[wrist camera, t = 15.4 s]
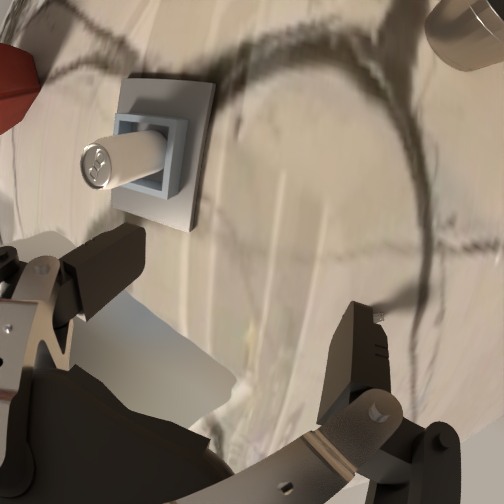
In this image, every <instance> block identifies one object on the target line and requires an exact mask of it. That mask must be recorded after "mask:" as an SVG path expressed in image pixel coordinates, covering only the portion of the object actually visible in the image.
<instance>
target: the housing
mask: <svg viewBox="0 0 504 504" xmlns="http://www.w3.org/2000/svg"><path fill="white" fill-rule="evenodd" d="M215 89H216V84H214V83H207V82H197V81H185V80H170V79H138V78H129V79H122V82H121V88H120V95H119V102H118V109H117V113H115V122H114V132H113V136H114V135H120V134H126V133H133V132H140V131H149V130H154V131H157V132H159V133H161V134H162V135H163V136H164V137H165V138H166V140H167V149H166V157H165V165H164V168H163V169H162V170H160V171H158V172H156V173H153V174H150V175H147V176H145V177H142V178H139V179H136V180H134V181H131V182H128V183H126V184H123V185H120V186H118V187H115V188H112V191H111V206H112V207H115V208H117V209H120V210H123V211H126V212H129V213H132V214H135V215H138V216H141V217H144V218H147V219H150V220H153V221H156V222H158V223H161V224H164V225H167V226H170V227H173V228H176V229H179V230H182V231H185V232H188V233H189V232H191V231H192V230H193V222H194V214H195V207H196V199H197V192H198V185H199V179H200V172H201V166H202V159H203V153H204V147H205V142H206V136H207V130H208V125H209V119H210V114H211V109H212V104H213V99H214V94H215Z"/></svg>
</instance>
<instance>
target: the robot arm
mask: <svg viewBox="0 0 504 504" xmlns="http://www.w3.org/2000/svg"><path fill="white" fill-rule="evenodd" d="M425 33H426V37H427V40H428V42H429V44H430V46H431V47H432V49H433V50H434V52H435V53H436V54H437V55H438V56H439V57H440V58H441V59H442V60H443V61H444V62H445V63H446V64H448V65H450V66H451V67H453V68H455V69H458V70H461V71H474V70H477V69H480V68H483V67H487V66H490V65H493V64H496V63H499V62H503V61H504V0H441V1H440V2H439V3H438V4H437V6H436V7H435V8H434V9H433V10H432V12H431V13H430V14H429V15H428V17H427V19H426V22H425ZM145 246H146V232H145V229H144V228H143V227H140V226H137V225H134V224H132V223H129V222H126V223H124V224H122V225H120V226H119V227H117V228H115V229H113V230H111V231H108V232H104V233H101V234H99V235H98V236H96V237H94V238H93V239H92V240H89V241H87V242H86V243H85V244H82V245H81V246H79V247H77V248H76V249H74V250H72V251H71V252H69V253H68V254H66V255H64V256H63V257H61V258H60V259H57V258H56V257H53V256H40V257H37V258H35V259H33V260H31V261H30V262H29V263H26V262H22V261H19V259H18V254H17V250H16V248H14V247H12V246H4V247H0V504H324V503H325V502H326V501H328V500H329V499H330V498H331V497H333V496H334V495H335V494H336V493H337V492H339V491H340V490H341V489H342V488H343V487H344V486H346V485H347V484H348V483H349V482H350V481H351V480H352V479H353V478H354V476H355V474H354V473H355V472H356V473H358V474H360V475H362V476H364V477H366V478H368V479H370V482H369V487H368V492H367V496H366V501H365V504H460V498H461V453H460V440H459V437H458V434H457V433H456V431H455V430H454V428H453V427H451V426H450V425H449V424H447V423H445V422H440V421H438V422H434V423H432V424H430V425H429V426H428V427H427V428H426V429H425V428H423V427H421V426H419V425H417V424H415V423H413V422H411V421H409V420H408V419H406V418H404V417H403V410H402V407H401V405H400V403H399V401H398V400H397V399H396V398H395V397H394V396H393V395H392V394H391V381H390V365H389V360H388V358H389V352H388V341H387V336H386V334H385V332H384V330H383V328H382V326H381V325H379V324H376V323H374V322H373V309H372V307H370V306H367V305H364V304H361V303H358V302H355V301H351V302H350V304H349V306H348V308H347V310H346V312H345V314H344V316H343V318H342V319H341V321H340V323H339V325H338V327H337V329H336V331H335V333H334V335H333V338H332V340H331V343H330V347H329V353H328V360H327V367H326V373H325V379H324V385H323V391H322V396H321V402H320V407H319V412H318V417H317V422H316V424H318V425H322V426H321V427H320V428H318V429H317V430H315V431H309V432H307V433H305V434H304V435H302V436H301V437H299V438H297V439H296V440H294V441H293V442H291V443H290V444H288V445H287V446H285V447H283V448H282V449H280V450H278V451H277V452H275V453H273V454H272V455H270V456H268V457H267V458H265V459H263V460H261V461H260V462H258V463H256V464H254V465H252V466H250V467H249V468H247V469H245V470H243V471H241V472H239V473H237V474H234V472H233V471H232V470H231V468H230V467H229V466H228V465H227V464H226V463H225V462H224V460H222V459H221V458H220V457H219V456H218V455H217V454H215V453H214V452H213V451H211V450H210V449H209V444H210V440H211V439H209V438H206V437H204V436H202V435H199V434H197V433H195V432H192V431H190V430H188V429H186V428H184V427H181V426H179V425H177V424H175V423H173V422H170V421H166V420H162V419H158V418H155V417H151V416H147V415H144V414H140V413H137V412H134V411H131V410H129V409H128V408H126V407H125V406H124V405H123V404H122V403H121V402H120V401H119V400H118V399H117V398H116V397H115V396H114V395H113V393H112V392H111V391H110V390H109V389H108V388H107V387H106V386H105V385H104V384H103V383H102V382H101V381H99V380H98V379H96V378H95V377H93V376H92V375H90V374H89V373H87V372H86V371H84V370H83V369H82V368H80V367H79V366H78V365H76V364H75V365H74V366H73V367H72V368H71V369H70V370H69V354H70V346H71V338H72V330H73V320H72V318H73V317H75V316H78V317H79V318H81V319H82V320H84V321H85V322H87V321H88V320H89V319H90V318H92V317H93V316H94V315H95V314H96V313H97V312H98V311H99V310H101V309H102V308H103V307H104V306H105V305H106V304H107V303H109V302H110V301H111V300H112V299H113V298H114V297H115V296H117V295H118V294H119V293H120V292H121V291H122V290H124V289H125V288H126V287H127V286H128V285H129V284H131V283H132V282H133V281H134V280H135V279H137V278H138V277H139V276H140V275H141V273H142V272H143V269H144V266H145Z"/></svg>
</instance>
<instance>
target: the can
mask: <svg viewBox="0 0 504 504" xmlns="http://www.w3.org/2000/svg"><path fill="white" fill-rule="evenodd" d="M166 149H167V140H166V138H165V137H164V136H163V135H162V134H161V133H159V132H157V131H154V130H149V131H140V132H133V133H126V134H120V135H114V136H109V137H104V138H100V139H98V140H96V141H95V142H94V143H91V144H89V145H88V146H87V147H86V148H85V149H84V151H83V153H82V155H81V160H80V168H81V173H82V176H83V179H84V180H85V182H86V183H87V185H88V186H89V187H91V188H92V189H95V190H100V189H106V190H107V189H112V188H115V187H118V186H120V185H123V184H126V183H128V182H131V181H134V180H136V179H139V178H142V177H145V176H147V175H150V174H153V173H156V172H158V171H160V170H162V169H163V168H164V165H165V157H166Z"/></svg>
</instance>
